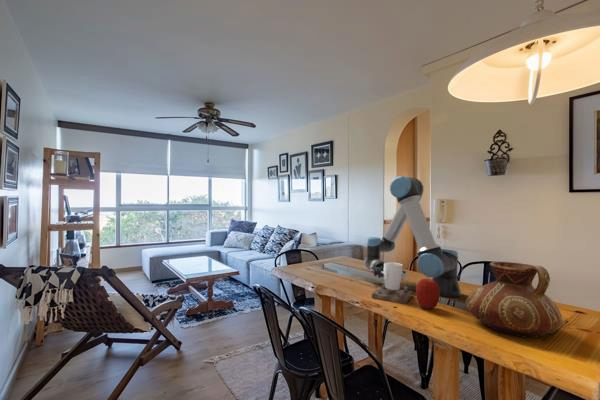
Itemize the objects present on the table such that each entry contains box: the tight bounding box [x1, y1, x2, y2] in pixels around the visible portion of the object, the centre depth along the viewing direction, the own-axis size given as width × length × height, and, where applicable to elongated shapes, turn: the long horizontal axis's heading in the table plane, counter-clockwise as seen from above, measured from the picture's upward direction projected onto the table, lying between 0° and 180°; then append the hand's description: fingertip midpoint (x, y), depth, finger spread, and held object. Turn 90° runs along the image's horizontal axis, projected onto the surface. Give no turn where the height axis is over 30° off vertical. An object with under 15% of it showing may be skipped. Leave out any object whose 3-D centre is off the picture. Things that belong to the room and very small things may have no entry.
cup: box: [384, 261, 404, 290], centre depth 153 cm, size 9×9×12 cm
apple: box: [415, 278, 441, 310], centre depth 137 cm, size 10×10×14 cm
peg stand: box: [371, 282, 413, 305], centre depth 153 cm, size 16×16×4 cm
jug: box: [465, 261, 563, 338], centre depth 119 cm, size 30×30×25 cm
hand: (396, 277), depth 149 cm, fingers closed on cup, 9 cm apart
